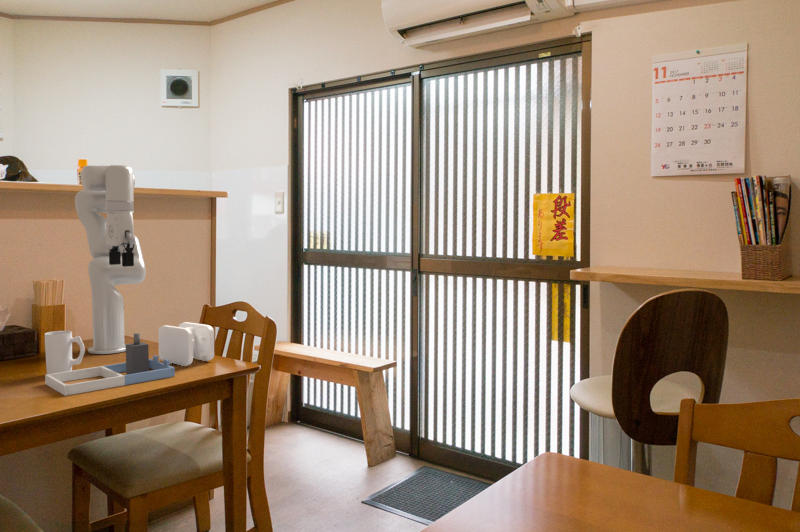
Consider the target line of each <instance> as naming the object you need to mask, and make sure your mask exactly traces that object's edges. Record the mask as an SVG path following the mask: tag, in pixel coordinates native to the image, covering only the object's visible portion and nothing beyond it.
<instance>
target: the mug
mask: <svg viewBox="0 0 800 532" xmlns="http://www.w3.org/2000/svg"><path fill="white" fill-rule="evenodd" d="M73 343H76V344H77V345H78V346H79V349H80V352H79V355H78V357H77V358H75V359H74V358H73ZM44 348H45V366H46V368H45V369H46V375H47V374H53V373H60V372H67V371H73V366H75V365H77V366H78V365H80V364H81V362H82V360H83V357H84V355H85V351H86V350H85V348H86V347H85V345H84V341H83V340H82V338H81V336H80V335H79V336H74V337H73V331H72V330H55V331H48V332H45V333H44Z"/></svg>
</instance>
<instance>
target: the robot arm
mask: <svg viewBox="0 0 800 532" xmlns="http://www.w3.org/2000/svg"><path fill="white" fill-rule="evenodd" d="M135 177H136V176H135V174H134V170H133V168H132V167H131V166H128V165H123V164H122V165H118V164H114V165H113V164H111V165H84V166H83V167H82V169H81V171H80V182H81V185H82V188H83V189H82V190H79V191H78V192H77V193H76V194H75V198H74V204H75V205H74V207H75V211H76V214H77V218H78V219H79V222H80V223H81V225H82V226H83V228H84V229H85V232H86V237H87V245H88V249H89V250H88V251H89V253H90V255H91V258H92V259H91V260H90V261H89V262H88V265H87V272H88V276H89V277H88V278H89V283H90V290H91V306H92V308H91V310H92V344H93V345H92V346H90V347H88V348H87V352H88V353H89V354H93V355H94V354H95V355H110V354H118V353H124V352H126V344H127V343H125V310H124V309H125V306H124V305H125V304H124V301H125V300H124V297H123V295H122V293H121V292H120V291H119V290H118V289H117V288H116V286H120V285H137V284H140V283H143V282H145V280H146V276H147V267H146V263H145V258H144V255H143V251H142V247H141V243H140V240H139V238H138V236H137V235H135V227H134V219H133V218H134V217H133V214H135V206H134V205H135V204H134V202H135V201H134V197H135V194H134V189H135V185H136V178H135ZM102 214H106V218H105V217H104V216H103V215H102Z"/></svg>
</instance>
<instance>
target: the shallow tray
mask: <svg viewBox="0 0 800 532" xmlns="http://www.w3.org/2000/svg"><path fill="white" fill-rule="evenodd" d="M149 369H151V370H149V371H147V372H141V373H135V374H129V375H126V374H125V375H123V374H122V373H126V362H119V363H114V364H108V365H107V364H106V365H99V366H93V367H87V368H80V369H75V370H73V369H72V371H67V372H60V373H53V374H47V373H46V374H45V375H44V381H45V382H44V383H45V385H46V386H48V387H50V388H51V389H52V390H55V391H56V392H58V393H59V394H61V395H62V396H65V397H66V396H72V395H77V394H78V395H79V394H83V393H89V392H94V391H100V390H105V389H110V388H111V389H112V388H116V387H123V386H128V385H133V384H139V383H144V382H151V381H155V380H156V381H157V380H162V379H167V378H172V377H173V376H174V377H175V376H176V370H175V369H176V368H175V367H174V366H171V365H170V364H169V360H168V359H163V361H162V362H161V361H160V358H159V355H156V354H155V355H154V354H153V355H152V358H149ZM96 377H103V378H99V379H93V380H88V381H82V382H75V383H69V384H67V383H65V382H70V381H77V380H83V379H84V380H85V379H89V378H96Z"/></svg>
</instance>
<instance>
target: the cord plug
mask: <svg viewBox="0 0 800 532" xmlns="http://www.w3.org/2000/svg"><path fill="white" fill-rule="evenodd" d="M125 344H126V351H125V363H126V372H125V375H129V374H135V373H141V372H147V371H150V368H149V359H150V358H149V357H150V356H149V344H148V343H146V342H143V341H141V333H139V332H135V333H133V342H131V343H125Z"/></svg>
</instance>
